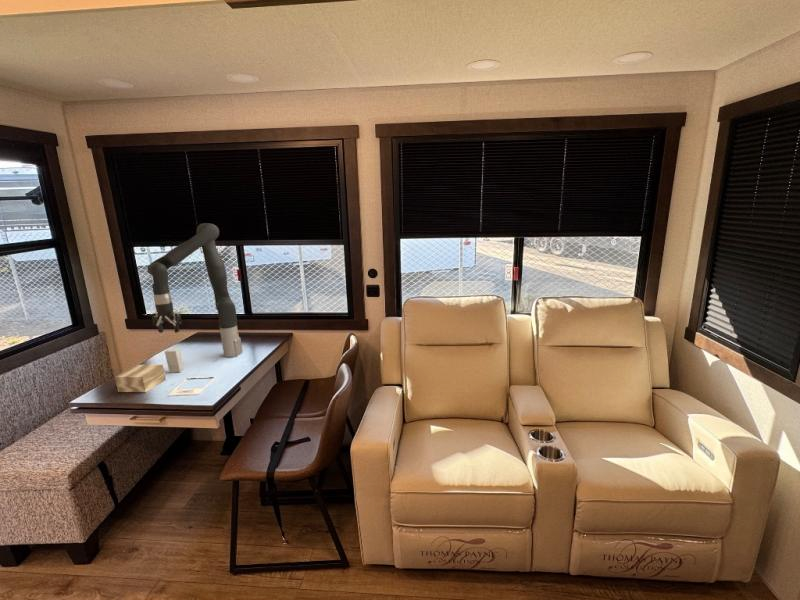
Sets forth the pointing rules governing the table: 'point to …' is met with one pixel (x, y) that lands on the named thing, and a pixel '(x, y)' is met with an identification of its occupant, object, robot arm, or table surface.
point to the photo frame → (188, 391)
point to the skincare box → (174, 360)
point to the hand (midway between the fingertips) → (169, 332)
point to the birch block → (140, 378)
